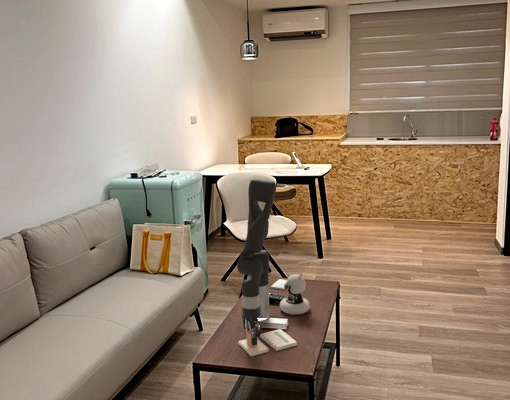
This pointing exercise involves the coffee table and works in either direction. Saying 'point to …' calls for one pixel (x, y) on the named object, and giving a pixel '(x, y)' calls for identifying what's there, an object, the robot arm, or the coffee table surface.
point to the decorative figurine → (295, 296)
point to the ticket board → (278, 339)
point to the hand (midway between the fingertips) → (252, 342)
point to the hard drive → (279, 284)
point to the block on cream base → (249, 347)
